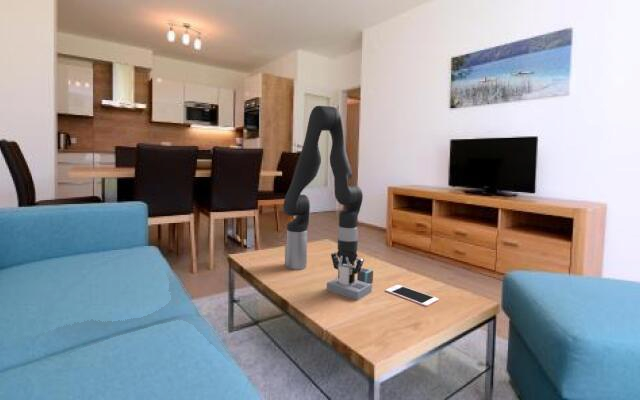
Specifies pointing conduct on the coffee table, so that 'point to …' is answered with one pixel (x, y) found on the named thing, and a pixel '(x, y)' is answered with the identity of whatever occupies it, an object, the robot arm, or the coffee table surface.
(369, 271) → the grey and blue block
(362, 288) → the outlet
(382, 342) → the coffee table surface
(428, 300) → the cell phone
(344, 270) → the block
